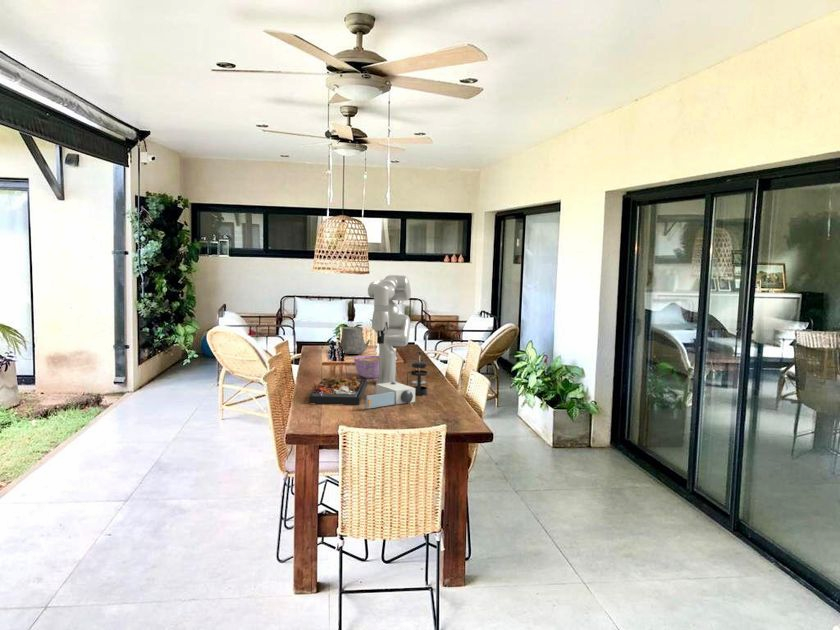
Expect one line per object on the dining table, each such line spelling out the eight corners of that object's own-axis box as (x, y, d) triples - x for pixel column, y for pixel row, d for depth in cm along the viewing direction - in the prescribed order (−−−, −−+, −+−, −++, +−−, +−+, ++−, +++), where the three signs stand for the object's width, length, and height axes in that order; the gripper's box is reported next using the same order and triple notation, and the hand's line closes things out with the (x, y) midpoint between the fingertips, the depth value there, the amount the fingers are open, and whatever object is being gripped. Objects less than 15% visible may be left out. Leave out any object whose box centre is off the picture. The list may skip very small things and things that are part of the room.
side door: (368, 409, 300) (368, 396, 299) (366, 408, 301) (366, 395, 301) (397, 404, 311) (397, 392, 310) (395, 403, 312) (395, 391, 312)
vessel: (331, 355, 456) (332, 328, 454) (344, 351, 477) (345, 325, 475) (359, 357, 450) (359, 329, 448) (371, 353, 470) (371, 326, 468)
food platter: (359, 406, 310) (359, 385, 309) (308, 405, 310) (309, 384, 309) (366, 387, 355) (366, 369, 354) (322, 386, 355) (322, 368, 354)
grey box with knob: (375, 397, 327) (376, 382, 327) (395, 394, 335) (395, 380, 334) (397, 405, 311) (398, 389, 311) (417, 402, 319) (417, 387, 318)
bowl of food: (389, 374, 389) (389, 356, 388) (384, 381, 370) (384, 361, 368) (357, 373, 391) (357, 354, 390) (350, 379, 371) (350, 360, 370)
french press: (428, 392, 343) (430, 350, 341) (428, 396, 334) (430, 353, 332) (407, 391, 343) (408, 349, 341) (406, 395, 334) (407, 352, 332)
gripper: (367, 307, 335) (366, 342, 337) (383, 310, 323) (382, 345, 325) (379, 307, 340) (378, 341, 341) (395, 309, 328) (394, 344, 329)
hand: (380, 343), depth 333 cm, fingers closed
